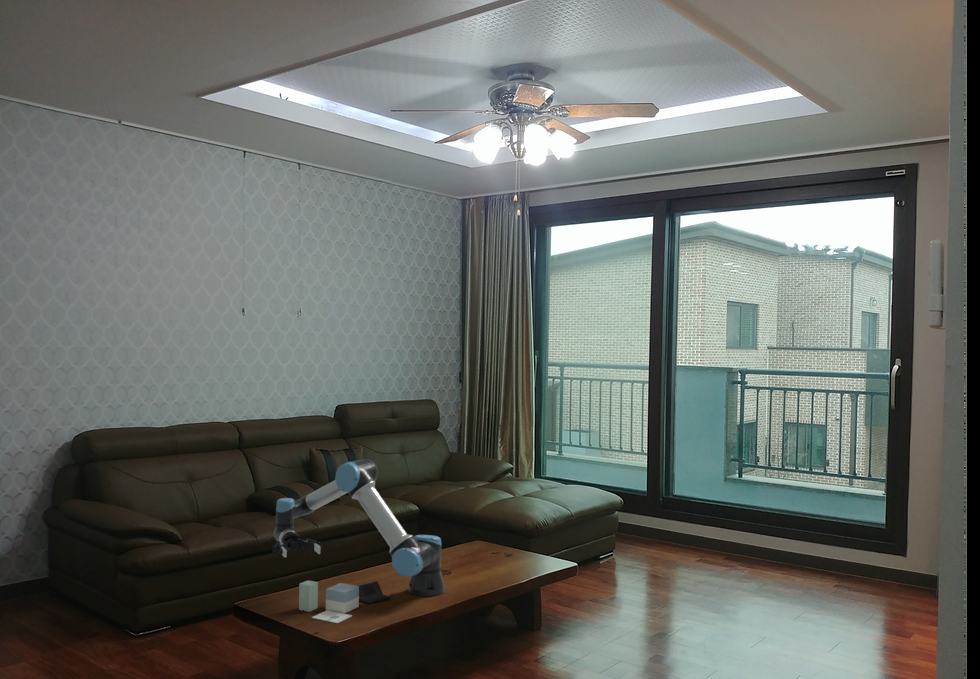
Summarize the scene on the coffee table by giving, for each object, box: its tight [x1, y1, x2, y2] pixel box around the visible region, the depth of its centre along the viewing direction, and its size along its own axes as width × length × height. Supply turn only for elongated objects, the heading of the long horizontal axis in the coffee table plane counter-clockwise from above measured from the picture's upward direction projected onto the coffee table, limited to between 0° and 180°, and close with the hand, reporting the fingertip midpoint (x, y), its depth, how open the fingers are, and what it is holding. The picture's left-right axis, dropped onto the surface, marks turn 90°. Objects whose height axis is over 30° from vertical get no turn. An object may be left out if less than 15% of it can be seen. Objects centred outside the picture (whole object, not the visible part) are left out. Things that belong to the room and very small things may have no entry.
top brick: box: [298, 580, 319, 612], centre depth 302 cm, size 5×5×10 cm
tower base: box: [325, 582, 360, 614], centre depth 303 cm, size 9×9×8 cm
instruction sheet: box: [311, 610, 353, 624], centre depth 293 cm, size 12×9×1 cm
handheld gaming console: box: [358, 581, 391, 606], centre depth 315 cm, size 12×7×10 cm
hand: (302, 552), depth 311 cm, fingers open, 13 cm apart
